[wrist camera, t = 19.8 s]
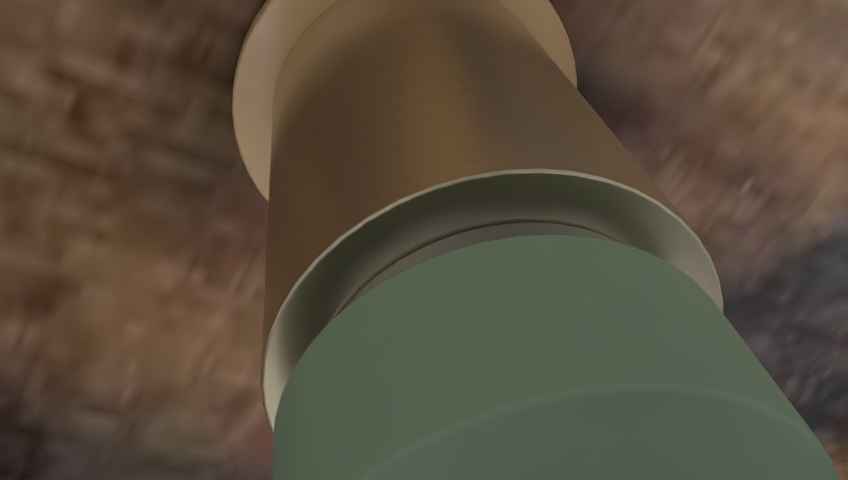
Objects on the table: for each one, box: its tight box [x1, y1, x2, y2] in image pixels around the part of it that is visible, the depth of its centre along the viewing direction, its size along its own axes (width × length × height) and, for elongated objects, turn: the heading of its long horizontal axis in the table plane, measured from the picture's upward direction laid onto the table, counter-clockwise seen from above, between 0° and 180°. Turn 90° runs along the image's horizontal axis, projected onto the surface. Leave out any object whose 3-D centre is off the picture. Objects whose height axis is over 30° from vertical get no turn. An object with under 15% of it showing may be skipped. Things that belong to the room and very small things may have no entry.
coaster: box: [232, 0, 577, 202], centre depth 19 cm, size 8×8×1 cm
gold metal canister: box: [261, 0, 723, 433], centre depth 14 cm, size 7×7×10 cm
